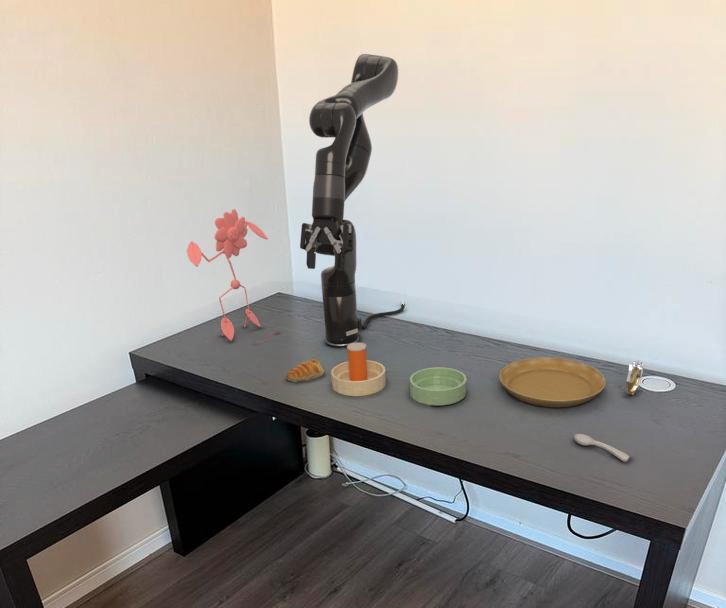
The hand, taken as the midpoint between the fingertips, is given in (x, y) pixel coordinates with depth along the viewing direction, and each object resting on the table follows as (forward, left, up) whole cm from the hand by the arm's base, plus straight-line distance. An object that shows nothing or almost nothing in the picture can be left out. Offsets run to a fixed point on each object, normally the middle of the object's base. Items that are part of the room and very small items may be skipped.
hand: (324, 269), depth 165 cm
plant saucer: (0, +56, -26) cm, 61 cm away
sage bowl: (+9, +31, -25) cm, 41 cm away
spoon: (+26, +69, -26) cm, 78 cm away
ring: (-2, +74, -26) cm, 78 cm away
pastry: (+7, -4, -26) cm, 27 cm away
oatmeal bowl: (+9, +11, -25) cm, 29 cm away
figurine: (-16, -33, -26) cm, 45 cm away
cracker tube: (+9, +11, -25) cm, 29 cm away
